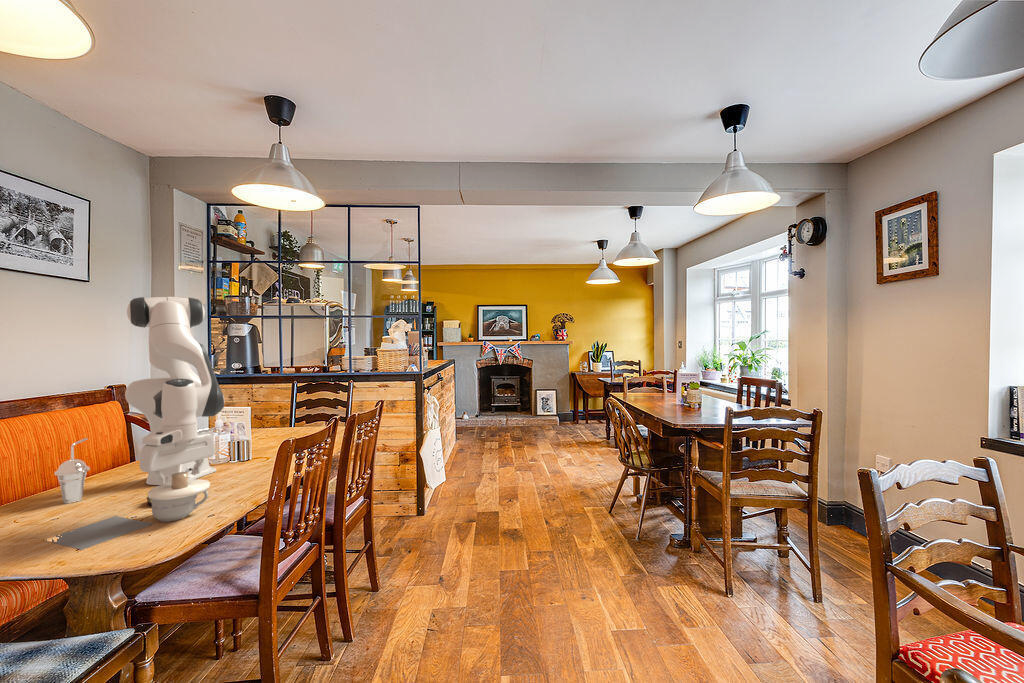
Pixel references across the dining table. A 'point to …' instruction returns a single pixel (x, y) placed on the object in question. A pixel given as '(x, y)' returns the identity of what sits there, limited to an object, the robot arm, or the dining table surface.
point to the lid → (179, 488)
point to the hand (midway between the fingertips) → (180, 478)
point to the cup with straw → (72, 477)
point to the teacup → (175, 507)
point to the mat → (99, 532)
